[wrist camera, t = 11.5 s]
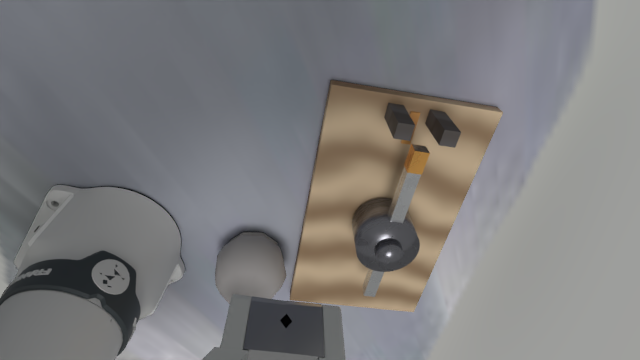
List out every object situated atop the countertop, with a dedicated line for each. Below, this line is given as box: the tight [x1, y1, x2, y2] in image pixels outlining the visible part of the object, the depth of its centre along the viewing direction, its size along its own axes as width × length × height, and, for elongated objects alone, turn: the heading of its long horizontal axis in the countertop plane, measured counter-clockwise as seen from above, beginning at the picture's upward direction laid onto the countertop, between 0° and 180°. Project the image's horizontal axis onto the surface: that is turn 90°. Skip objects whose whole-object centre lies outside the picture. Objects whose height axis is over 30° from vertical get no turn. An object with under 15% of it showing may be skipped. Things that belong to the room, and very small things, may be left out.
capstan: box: [352, 144, 430, 297], centre depth 43 cm, size 20×7×6 cm, turn 169°
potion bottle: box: [215, 232, 286, 347], centre depth 43 cm, size 9×9×18 cm
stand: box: [290, 80, 503, 312], centre depth 45 cm, size 31×18×6 cm, turn 170°
